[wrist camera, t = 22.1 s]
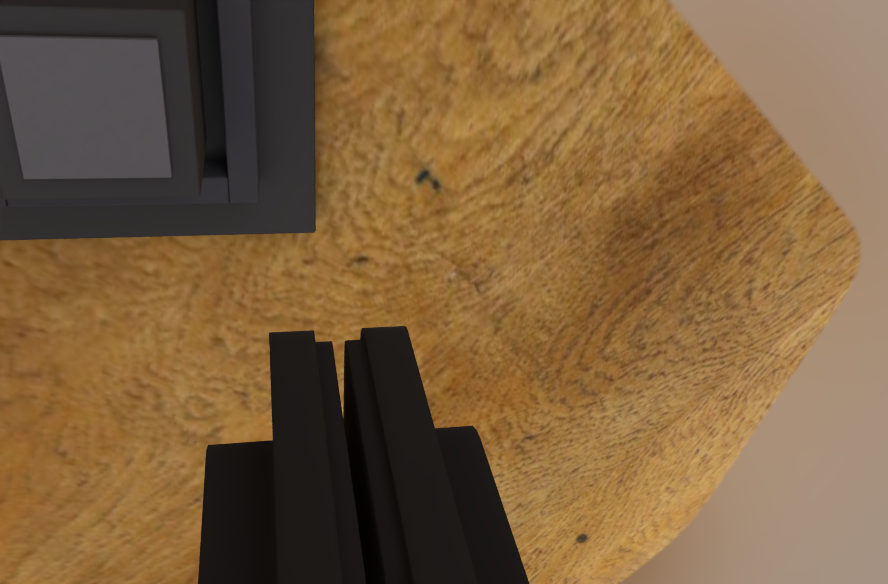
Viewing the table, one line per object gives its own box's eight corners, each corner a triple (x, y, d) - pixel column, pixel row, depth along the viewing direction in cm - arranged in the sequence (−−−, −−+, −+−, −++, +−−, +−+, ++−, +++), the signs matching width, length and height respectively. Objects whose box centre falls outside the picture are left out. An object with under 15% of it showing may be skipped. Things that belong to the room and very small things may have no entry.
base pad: (311, -160, 26) (316, -152, 24) (313, 220, 32) (318, 252, 30) (-169, -193, 23) (-210, -187, 21) (-57, 229, 30) (-79, 264, 28)
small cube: (193, -27, 26) (184, 12, 22) (206, 140, 29) (200, 200, 25) (1, -34, 25) (-45, 5, 21) (34, 141, 28) (0, 203, 24)
